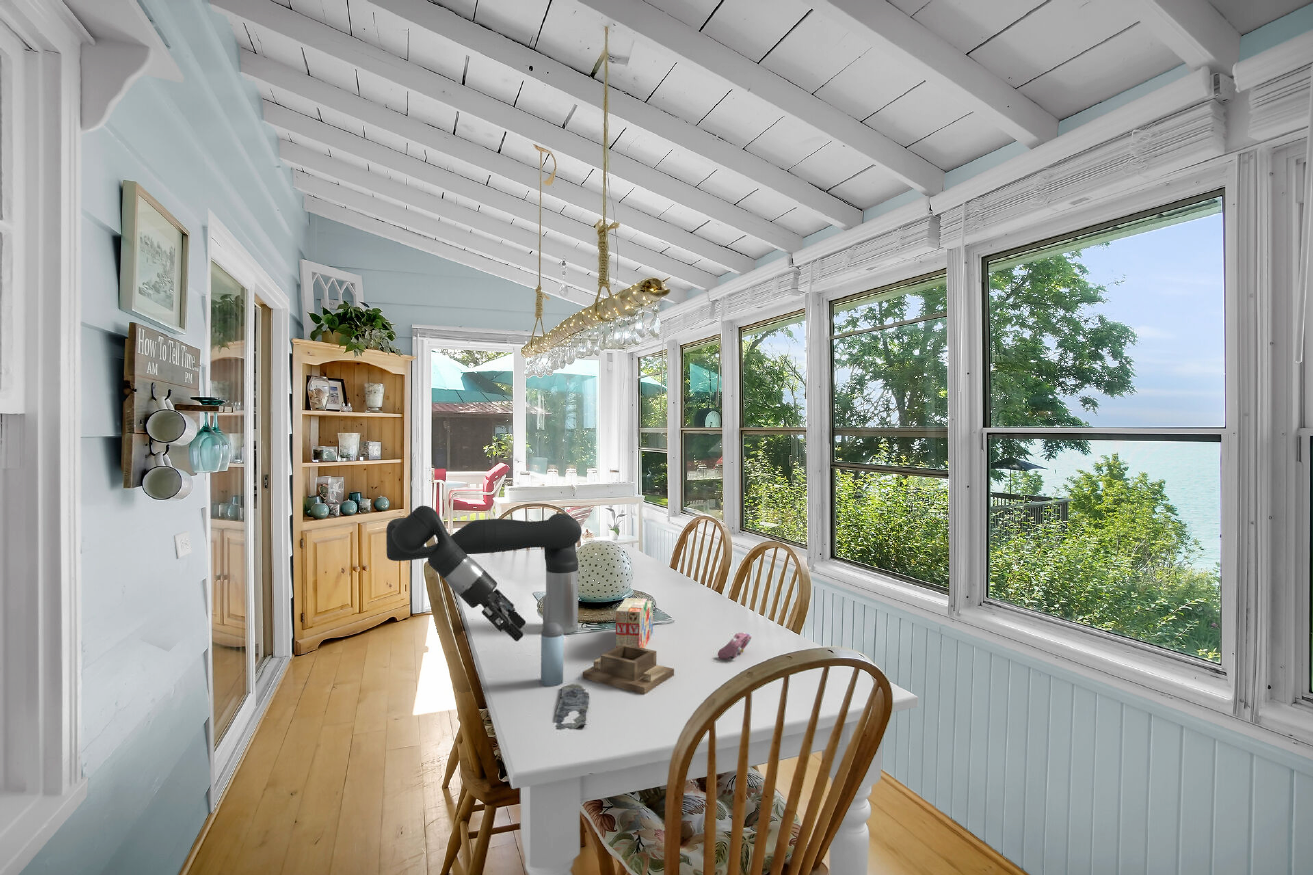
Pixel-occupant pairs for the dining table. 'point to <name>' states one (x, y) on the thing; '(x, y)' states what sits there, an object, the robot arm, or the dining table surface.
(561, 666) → the ball on cylinder
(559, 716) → the driftwood
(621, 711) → the dining table surface
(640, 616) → the stack of blocks
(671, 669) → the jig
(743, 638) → the video game controller
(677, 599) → the dining table surface
